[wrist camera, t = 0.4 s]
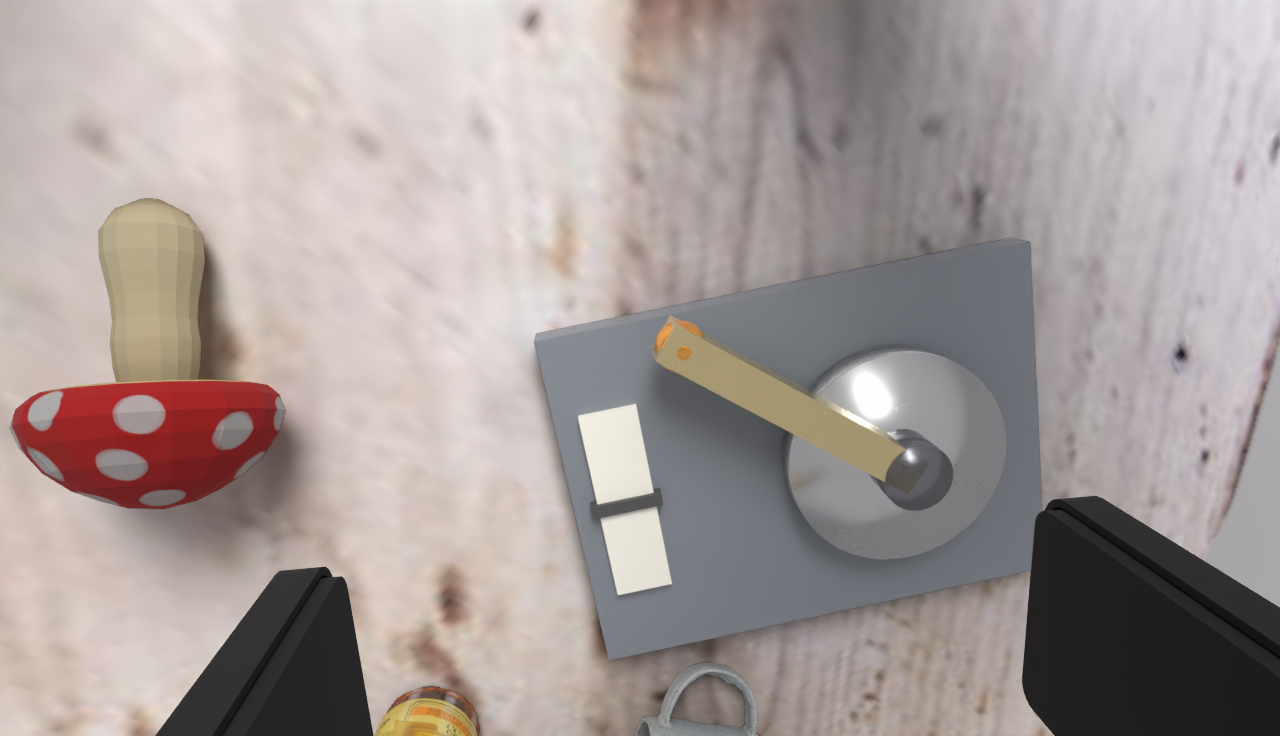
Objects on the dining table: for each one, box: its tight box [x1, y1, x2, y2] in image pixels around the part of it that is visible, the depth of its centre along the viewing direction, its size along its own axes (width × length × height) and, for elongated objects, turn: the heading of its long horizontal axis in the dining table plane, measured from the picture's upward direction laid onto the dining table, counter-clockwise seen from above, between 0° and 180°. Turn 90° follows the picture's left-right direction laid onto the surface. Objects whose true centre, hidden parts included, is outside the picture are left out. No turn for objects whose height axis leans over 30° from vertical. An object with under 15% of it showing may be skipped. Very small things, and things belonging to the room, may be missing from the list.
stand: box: [534, 238, 1042, 660], centre depth 43 cm, size 20×27×3 cm
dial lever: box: [651, 315, 1006, 559], centre depth 40 cm, size 21×12×4 cm, turn 61°
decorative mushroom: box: [9, 198, 285, 509], centre depth 37 cm, size 11×11×15 cm
